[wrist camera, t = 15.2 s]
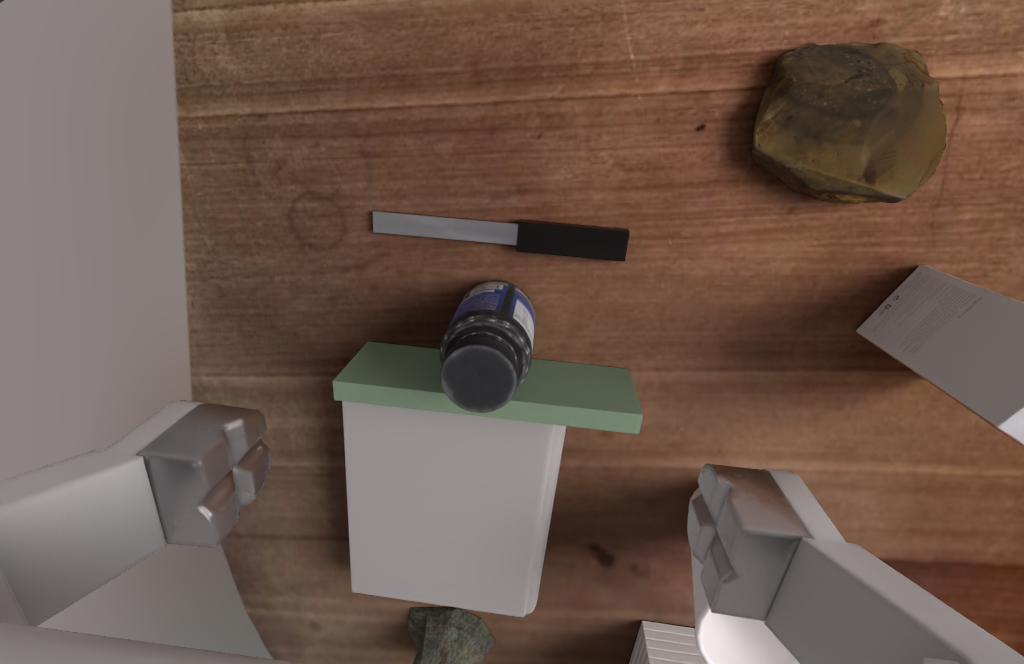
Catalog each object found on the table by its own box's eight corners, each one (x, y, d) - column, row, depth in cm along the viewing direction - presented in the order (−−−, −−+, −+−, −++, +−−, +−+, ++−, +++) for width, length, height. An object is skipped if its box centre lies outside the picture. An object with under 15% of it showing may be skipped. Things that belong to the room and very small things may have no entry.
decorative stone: (729, 185, 34) (747, 192, 30) (777, 30, 30) (804, 19, 27) (881, 209, 33) (915, 218, 30) (949, 54, 30) (997, 46, 26)
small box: (851, 330, 37) (993, 428, 25) (920, 261, 34) (1112, 332, 22) (931, 382, 38) (1104, 499, 26) (1003, 318, 35) (1230, 414, 24)
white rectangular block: (351, 592, 47) (340, 378, 38) (365, 560, 51) (359, 357, 41) (535, 619, 47) (572, 408, 37) (537, 585, 50) (570, 384, 41)
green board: (368, 358, 41) (333, 400, 35) (367, 341, 41) (332, 381, 34) (626, 385, 40) (639, 434, 34) (629, 368, 40) (643, 415, 33)
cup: (633, 508, 45) (658, 636, 34) (731, 428, 41) (799, 543, 30) (722, 572, 47) (775, 713, 36) (825, 502, 43) (921, 636, 32)
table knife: (375, 235, 37) (370, 237, 36) (374, 206, 36) (369, 208, 35) (623, 258, 36) (624, 261, 35) (628, 228, 35) (629, 231, 34)
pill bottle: (451, 333, 40) (414, 403, 30) (473, 266, 37) (442, 317, 27) (521, 359, 40) (508, 436, 30) (547, 294, 38) (544, 355, 28)
